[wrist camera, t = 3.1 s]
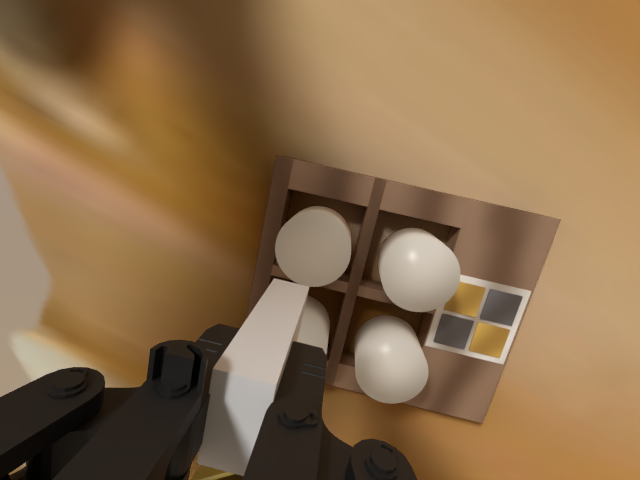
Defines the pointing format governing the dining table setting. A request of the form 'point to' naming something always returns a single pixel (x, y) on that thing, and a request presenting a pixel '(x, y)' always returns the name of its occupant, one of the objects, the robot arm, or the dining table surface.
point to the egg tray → (455, 315)
